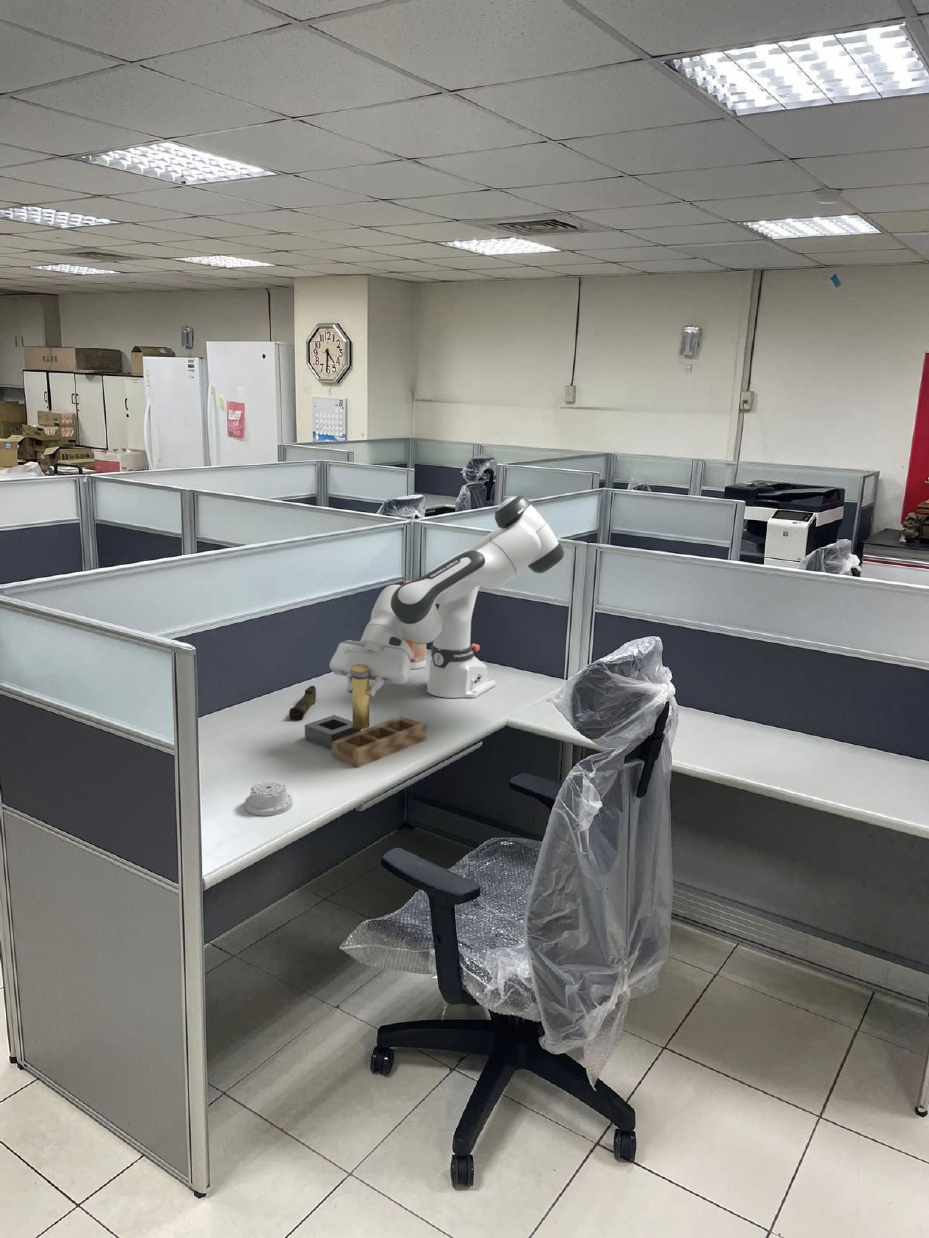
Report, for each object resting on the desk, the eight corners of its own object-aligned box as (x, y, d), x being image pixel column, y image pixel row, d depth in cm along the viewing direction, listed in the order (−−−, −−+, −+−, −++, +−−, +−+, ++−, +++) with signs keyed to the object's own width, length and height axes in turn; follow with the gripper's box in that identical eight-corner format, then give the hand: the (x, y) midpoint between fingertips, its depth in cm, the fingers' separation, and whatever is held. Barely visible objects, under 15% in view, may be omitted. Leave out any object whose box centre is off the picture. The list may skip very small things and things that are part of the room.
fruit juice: (427, 669, 287) (429, 584, 280) (398, 670, 285) (399, 584, 278) (424, 660, 296) (425, 578, 289) (396, 661, 294) (396, 578, 287)
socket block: (334, 729, 233) (334, 714, 232) (360, 738, 227) (360, 724, 226) (305, 739, 226) (304, 724, 225) (331, 749, 220) (331, 734, 219)
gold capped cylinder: (358, 721, 217) (357, 662, 214) (374, 724, 215) (373, 665, 212) (347, 727, 213) (347, 667, 210) (364, 730, 211) (363, 670, 208)
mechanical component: (300, 799, 193) (259, 793, 196) (300, 781, 192) (258, 774, 195) (278, 820, 184) (236, 812, 186) (278, 800, 183) (235, 793, 185)
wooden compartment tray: (400, 730, 233) (400, 716, 232) (426, 739, 228) (426, 724, 227) (332, 757, 215) (332, 741, 214) (358, 767, 210) (358, 751, 209)
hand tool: (303, 722, 239) (302, 705, 238) (288, 721, 239) (288, 704, 238) (323, 699, 257) (323, 684, 256) (310, 698, 257) (310, 683, 256)
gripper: (336, 632, 219) (316, 681, 213) (411, 642, 212) (393, 693, 206) (346, 645, 225) (326, 693, 218) (419, 655, 217) (401, 705, 211)
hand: (359, 693), depth 212 cm, fingers closed on gold capped cylinder, 4 cm apart
